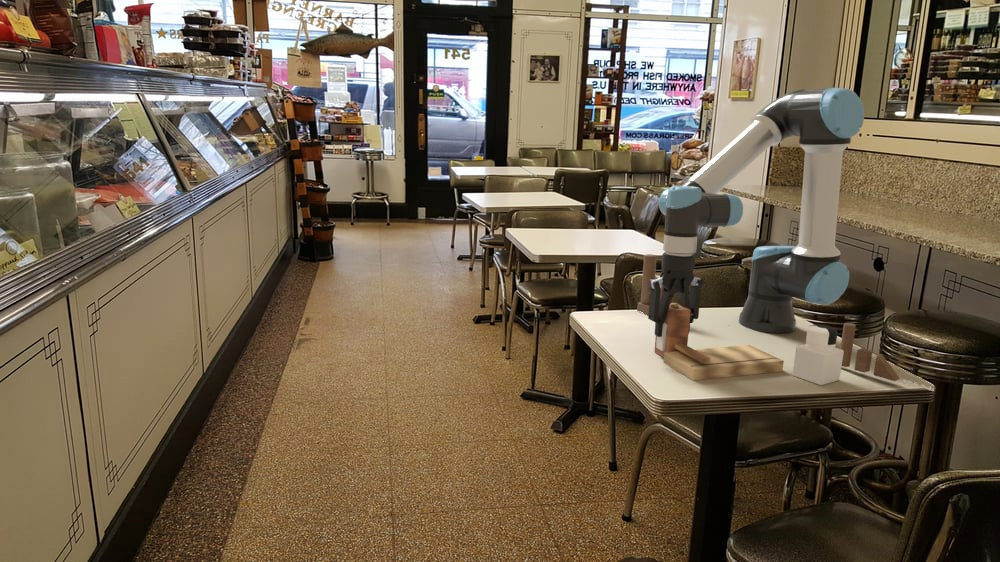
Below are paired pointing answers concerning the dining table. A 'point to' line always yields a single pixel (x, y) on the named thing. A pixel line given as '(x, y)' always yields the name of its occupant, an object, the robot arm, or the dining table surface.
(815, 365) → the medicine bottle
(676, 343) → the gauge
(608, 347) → the dining table surface
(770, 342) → the dining table surface
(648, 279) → the wooden post assembly
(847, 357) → the wood blocks
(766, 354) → the board
